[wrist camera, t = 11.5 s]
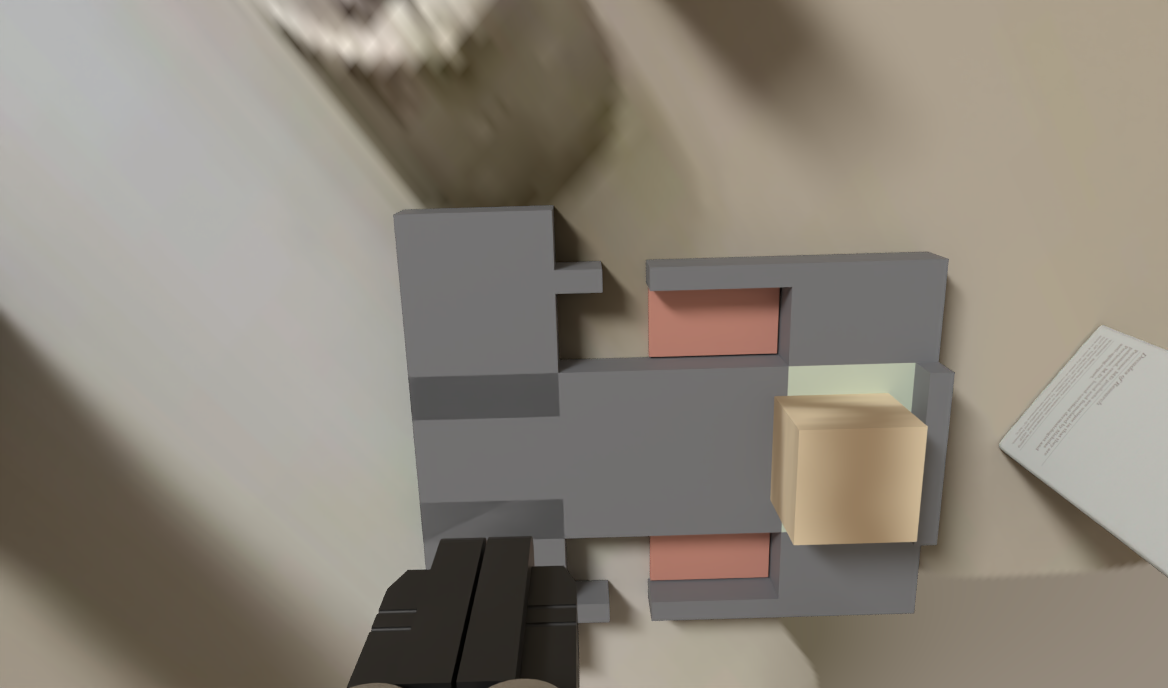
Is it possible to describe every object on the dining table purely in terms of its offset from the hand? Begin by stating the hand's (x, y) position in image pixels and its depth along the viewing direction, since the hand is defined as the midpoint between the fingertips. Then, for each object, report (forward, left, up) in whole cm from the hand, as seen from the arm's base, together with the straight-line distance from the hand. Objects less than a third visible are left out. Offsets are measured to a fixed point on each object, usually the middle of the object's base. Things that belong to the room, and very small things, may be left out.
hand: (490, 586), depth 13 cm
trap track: (+6, -7, -23) cm, 25 cm away
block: (+12, -7, -21) cm, 25 cm away
